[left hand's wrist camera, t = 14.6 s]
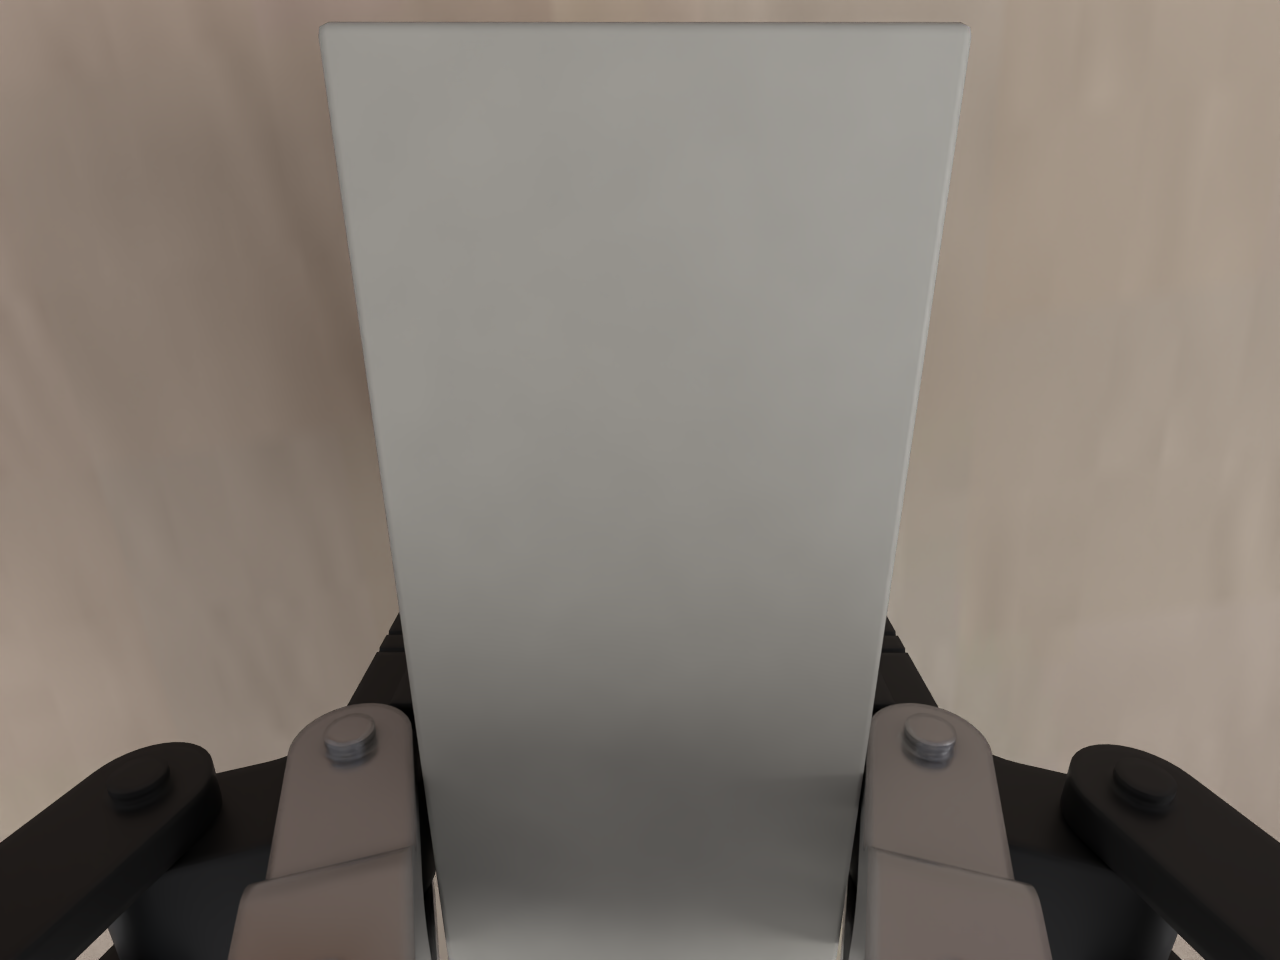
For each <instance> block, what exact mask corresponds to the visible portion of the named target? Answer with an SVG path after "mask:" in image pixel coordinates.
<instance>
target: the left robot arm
mask: <svg viewBox="0 0 1280 960" xmlns="http://www.w3.org/2000/svg"><path fill="white" fill-rule="evenodd" d="M435 872H436V867H435V860H434V852H433V845H432V838H431V831H430V824H429V817H428V810H427V803H426V796H425V789H424V781H423V774H422V767H421V760H420V753H419V746H418V739H417V732H416V725H415V718H414V711H413V703H412V696H411V689H410V682H409V675H408V668H407V661H406V654H405V647H404V640H403V632H402V625H401V618H400V612H399V614H398V616H397V617H396V619H395V621H394V623H393V624H392V626H391V628H390V630H389V635H386V637H385V639H384V641H383V642H382V644H381V646H380V651H379V652H377V653H376V655H375V657H374V659H373V660H372V662H371V664H370V666H369V668H368V669H367V671H366V673H365V675H364V677H363V678H362V680H361V682H360V684H359V686H358V687H357V689H356V691H355V693H354V695H353V696H352V698H351V700H350V702H349V704H348V705H347V706H346V707H342V708H339V709H336V710H333V711H331V712H329V713H327V714H324V715H323V716H321V717H319V718H317V719H315V720H314V721H313V722H311V723H310V724H308V725H307V726H306V727H305V728H304V729H303V730H302V731H301V732H300V733H299V734H298V735H297V736H296V737H295V739H294V740H293V742H292V744H291V746H290V749H289V752H288V756H286V757H283V758H280V759H277V760H273V761H269V762H265V763H261V764H257V765H252V766H248V767H243V768H239V769H234V770H230V771H225V772H221V773H217V774H216V772H215V768H214V765H213V761H212V758H211V756H210V754H209V753H208V752H207V751H206V750H205V749H204V748H202V747H201V746H198V745H195V744H191V743H185V742H171V743H162V744H157V745H151V746H148V747H144V748H141V749H138V750H135V751H133V752H130V753H127V754H125V755H123V756H121V757H119V758H117V759H115V760H113V761H111V762H109V763H108V764H106V765H104V766H102V767H101V768H100V769H98V770H97V771H95V772H94V773H92V774H91V775H90V776H88V777H87V778H86V779H84V780H83V781H82V782H80V783H79V784H78V785H76V786H75V787H74V788H72V789H71V790H70V791H68V792H67V793H66V794H64V795H63V796H62V797H60V798H59V799H58V800H56V801H55V802H54V803H52V804H51V805H50V806H49V807H47V808H46V809H45V810H43V811H42V812H41V813H39V814H38V815H37V816H35V817H34V818H33V819H31V820H30V821H29V822H27V823H26V824H25V825H23V826H22V827H21V828H19V829H18V830H17V831H15V832H14V833H13V834H11V835H10V836H9V837H7V838H6V839H5V840H3V841H2V842H1V843H0V960H75V959H76V958H77V957H78V956H79V955H80V954H81V953H82V952H83V951H84V950H85V949H87V948H88V947H89V946H90V945H91V944H92V943H93V942H94V941H95V940H96V939H97V938H98V937H99V936H100V935H101V934H102V933H103V932H104V931H105V930H106V929H107V928H108V930H109V932H110V935H111V938H112V940H113V943H114V945H113V946H112V947H111V948H110V949H109V950H108V951H107V952H106V953H105V954H104V955H103V956H102V957H101V958H100V959H99V960H439V945H438V929H437V913H436V897H435V889H434V881H433V878H434V875H435ZM1177 934H1179V935H1180V936H1181V937H1182V938H1183V939H1184V940H1185V941H1186V942H1187V943H1188V944H1189V945H1190V946H1191V947H1192V948H1194V949H1195V950H1196V951H1197V952H1198V953H1199V954H1200V955H1201V956H1202V957H1203V958H1204V959H1205V960H1280V843H1279V842H1278V841H1277V840H1275V839H1274V838H1273V837H1271V836H1270V835H1269V834H1267V833H1266V832H1265V831H1263V830H1262V829H1261V828H1259V827H1258V826H1257V825H1255V824H1254V823H1253V822H1251V821H1250V820H1249V819H1247V818H1246V817H1245V816H1243V815H1242V814H1241V813H1239V812H1238V811H1237V810H1235V809H1234V808H1233V807H1232V806H1230V805H1229V804H1228V803H1226V802H1225V801H1224V800H1222V799H1221V798H1220V797H1218V796H1217V795H1216V794H1214V793H1213V792H1212V791H1210V790H1209V789H1208V788H1206V787H1205V786H1204V785H1202V784H1201V783H1200V782H1198V781H1197V780H1196V779H1194V778H1193V777H1192V776H1190V775H1189V774H1187V773H1186V772H1185V771H1183V770H1182V769H1180V768H1179V767H1177V766H1175V765H1173V764H1171V763H1170V762H1168V761H1166V760H1164V759H1162V758H1159V757H1157V756H1155V755H1152V754H1150V753H1147V752H1144V751H1141V750H1138V749H1134V748H1130V747H1125V746H1120V745H1110V744H1102V745H1093V746H1088V747H1085V748H1083V749H1081V750H1079V751H1078V752H1076V754H1075V755H1074V756H1073V757H1072V760H1071V762H1070V766H1069V770H1068V773H1067V774H1064V773H1060V772H1055V771H1051V770H1047V769H1042V768H1038V767H1033V766H1029V765H1024V764H1020V763H1016V762H1012V761H1009V760H1005V759H1003V758H1000V757H997V756H994V755H992V752H991V749H990V746H989V744H988V742H987V740H986V739H985V738H984V736H983V735H982V734H981V733H980V732H979V731H978V730H977V729H976V728H975V727H974V726H973V725H972V724H970V723H969V722H967V721H966V720H964V719H963V718H961V717H959V716H957V715H956V714H953V713H951V712H949V711H947V710H944V709H941V708H938V706H937V704H936V702H935V701H934V699H933V697H932V695H931V693H930V692H929V690H928V688H927V686H926V685H925V683H924V681H923V679H922V678H921V676H920V674H919V672H918V670H917V669H916V667H915V665H914V663H913V662H912V660H911V658H910V656H909V655H908V653H905V647H904V646H903V644H902V642H901V640H900V639H899V637H898V636H896V634H895V630H894V628H893V626H892V624H891V623H890V621H889V619H888V617H887V616H886V623H885V629H884V636H883V643H882V650H881V657H880V663H879V670H878V677H877V684H876V691H875V698H874V704H873V711H872V718H871V725H870V732H869V739H868V745H867V752H866V759H865V766H864V773H863V780H862V786H861V793H860V800H859V807H858V814H857V820H856V827H855V834H854V841H853V848H852V855H851V861H850V868H849V875H848V882H847V889H846V896H845V902H844V913H843V928H842V944H841V960H1181V959H1180V958H1179V957H1178V956H1177V955H1176V954H1175V953H1174V952H1173V951H1172V948H1173V945H1174V942H1175V940H1176V937H1177Z"/></svg>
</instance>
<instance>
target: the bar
mask: <svg viewBox="0 0 1280 960" xmlns="http://www.w3.org/2000/svg"><path fill="white" fill-rule="evenodd" d="M970 42H971V29H970V27H969V26H967V25H965V24H963V23H961V22H328V23H326V24H324V25H322V26H320V28H319V43H320V50H321V57H322V65H323V72H324V79H325V86H326V93H327V100H328V107H329V114H330V121H331V128H332V136H333V143H334V150H335V157H336V164H337V171H338V178H339V185H340V192H341V199H342V206H343V214H344V221H345V228H346V235H347V242H348V249H349V256H350V263H351V270H352V277H353V285H354V292H355V299H356V306H357V313H358V320H359V327H360V334H361V341H362V348H363V356H364V363H365V370H366V377H367V384H368V391H369V398H370V405H371V412H372V419H373V427H374V434H375V441H376V448H377V455H378V462H379V469H380V476H381V483H382V490H383V498H384V505H385V512H386V519H387V526H388V533H389V540H390V547H391V554H392V561H393V569H394V576H395V583H396V590H397V597H398V604H399V611H400V618H401V625H402V632H403V640H404V647H405V654H406V661H407V668H408V675H409V682H410V689H411V696H412V703H413V711H414V718H415V725H416V732H417V739H418V746H419V753H420V760H421V767H422V774H423V781H424V789H425V796H426V803H427V810H428V817H429V824H430V831H431V838H432V845H433V852H434V860H435V867H436V874H437V881H438V888H439V895H440V902H441V909H442V916H443V923H444V931H445V938H446V945H447V952H448V959H449V960H836V957H837V950H838V943H839V937H840V930H841V923H842V916H843V909H844V902H845V896H846V889H847V882H848V875H849V868H850V861H851V855H852V848H853V841H854V834H855V827H856V820H857V814H858V807H859V800H860V793H861V786H862V780H863V773H864V766H865V759H866V752H867V745H868V739H869V732H870V725H871V718H872V711H873V704H874V698H875V691H876V684H877V677H878V670H879V663H880V657H881V650H882V643H883V636H884V629H885V623H886V616H887V609H888V602H889V595H890V588H891V582H892V575H893V568H894V561H895V554H896V547H897V541H898V534H899V527H900V520H901V513H902V506H903V500H904V493H905V486H906V479H907V472H908V466H909V459H910V452H911V445H912V438H913V431H914V425H915V418H916V411H917V404H918V397H919V390H920V384H921V377H922V370H923V363H924V356H925V349H926V343H927V336H928V329H929V322H930V315H931V309H932V302H933V295H934V288H935V281H936V274H937V268H938V261H939V254H940V247H941V240H942V233H943V227H944V220H945V213H946V206H947V199H948V192H949V186H950V179H951V172H952V165H953V158H954V152H955V145H956V138H957V131H958V124H959V117H960V111H961V104H962V97H963V90H964V83H965V76H966V70H967V63H968V56H969V49H970Z"/></svg>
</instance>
